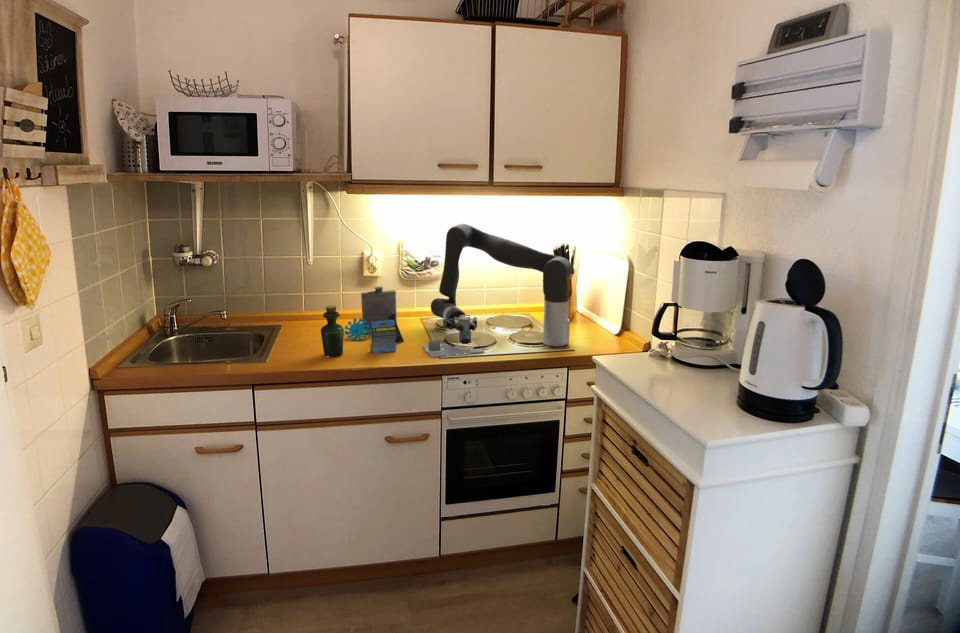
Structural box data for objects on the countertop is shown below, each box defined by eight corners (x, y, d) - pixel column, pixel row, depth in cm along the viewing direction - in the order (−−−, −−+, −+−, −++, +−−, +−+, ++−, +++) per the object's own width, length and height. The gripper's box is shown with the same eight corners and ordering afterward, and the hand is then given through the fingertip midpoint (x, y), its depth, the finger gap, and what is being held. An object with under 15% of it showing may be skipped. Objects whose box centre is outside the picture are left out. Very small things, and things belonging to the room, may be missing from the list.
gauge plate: (472, 342, 246) (472, 331, 245) (484, 352, 233) (484, 342, 232) (421, 346, 239) (420, 336, 238) (430, 358, 227) (429, 347, 226)
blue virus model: (340, 336, 246) (348, 315, 251) (343, 343, 251) (351, 322, 256) (367, 342, 244) (375, 320, 249) (369, 349, 250) (377, 327, 254)
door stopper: (381, 344, 242) (379, 314, 239) (377, 340, 248) (376, 310, 245) (403, 342, 245) (403, 312, 242) (400, 337, 251) (399, 308, 248)
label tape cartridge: (394, 348, 237) (393, 316, 234) (396, 351, 234) (395, 319, 231) (370, 350, 234) (369, 318, 231) (372, 354, 231) (371, 321, 228)
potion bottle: (348, 356, 228) (345, 307, 224) (326, 359, 224) (323, 310, 219) (340, 350, 235) (337, 303, 230) (319, 353, 231) (316, 305, 226)
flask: (398, 328, 264) (396, 286, 259) (363, 332, 259) (362, 289, 254) (396, 326, 267) (394, 284, 262) (362, 329, 262) (360, 287, 257)
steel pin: (469, 339, 240) (469, 314, 237) (472, 343, 236) (472, 317, 233) (457, 340, 239) (457, 315, 236) (461, 344, 234) (461, 318, 232)
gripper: (436, 309, 246) (448, 320, 230) (471, 306, 250) (486, 317, 234) (437, 327, 247) (448, 339, 232) (471, 324, 252) (485, 336, 236)
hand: (467, 328), depth 233 cm, fingers closed on steel pin, 4 cm apart
